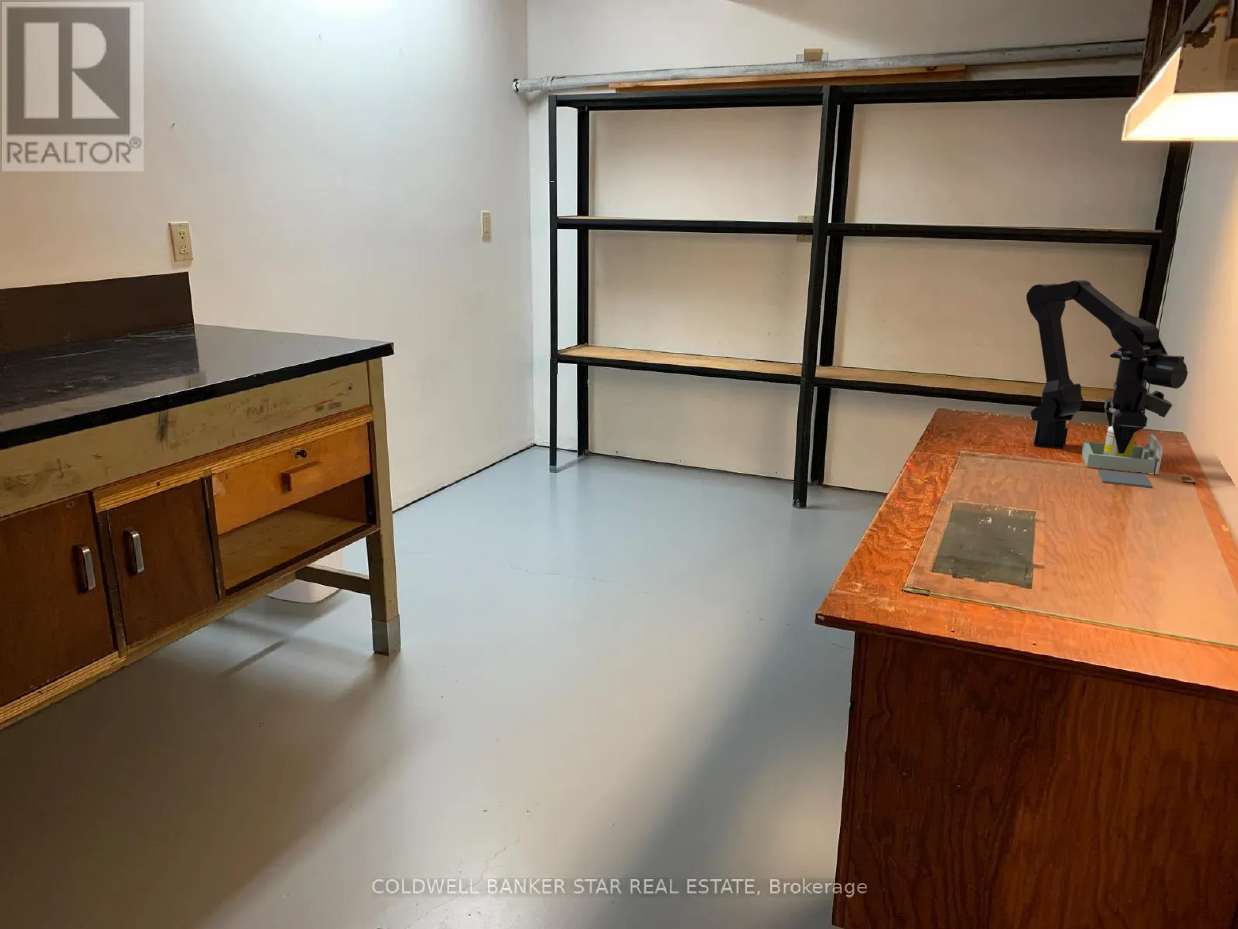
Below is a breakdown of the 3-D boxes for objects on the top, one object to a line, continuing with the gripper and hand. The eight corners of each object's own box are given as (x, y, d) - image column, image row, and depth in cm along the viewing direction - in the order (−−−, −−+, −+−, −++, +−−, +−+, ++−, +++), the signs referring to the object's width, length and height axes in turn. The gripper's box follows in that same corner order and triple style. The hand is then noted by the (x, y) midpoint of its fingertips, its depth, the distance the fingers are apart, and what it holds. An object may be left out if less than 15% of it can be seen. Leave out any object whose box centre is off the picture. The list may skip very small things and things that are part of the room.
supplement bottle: (1133, 463, 195) (1142, 420, 192) (1123, 468, 191) (1132, 423, 189) (1108, 458, 199) (1115, 415, 196) (1097, 462, 196) (1105, 419, 193)
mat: (1102, 482, 181) (1102, 480, 181) (1097, 471, 189) (1098, 469, 189) (1151, 487, 178) (1151, 486, 178) (1144, 476, 186) (1144, 474, 186)
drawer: (1086, 467, 192) (1091, 441, 190) (1081, 452, 203) (1085, 428, 202) (1158, 474, 187) (1163, 448, 185) (1148, 459, 198) (1153, 434, 197)
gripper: (1181, 391, 179) (1166, 463, 183) (1165, 376, 195) (1152, 442, 200) (1120, 386, 183) (1107, 457, 187) (1109, 372, 199) (1098, 437, 204)
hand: (1118, 448), depth 194 cm, fingers open, 9 cm apart
